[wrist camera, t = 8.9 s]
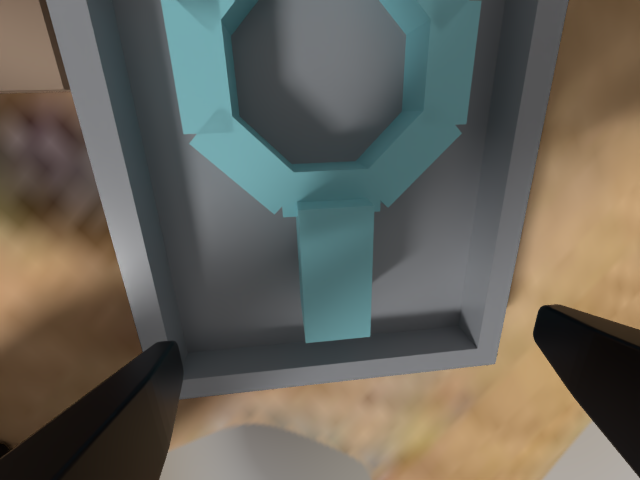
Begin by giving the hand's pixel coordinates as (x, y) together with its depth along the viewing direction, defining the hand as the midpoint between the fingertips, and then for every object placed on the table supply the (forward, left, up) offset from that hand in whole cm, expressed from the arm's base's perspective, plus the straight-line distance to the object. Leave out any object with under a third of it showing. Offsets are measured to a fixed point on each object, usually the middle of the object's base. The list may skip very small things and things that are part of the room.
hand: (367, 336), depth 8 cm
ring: (+4, 0, -6) cm, 8 cm away
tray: (+4, 0, -7) cm, 8 cm away
